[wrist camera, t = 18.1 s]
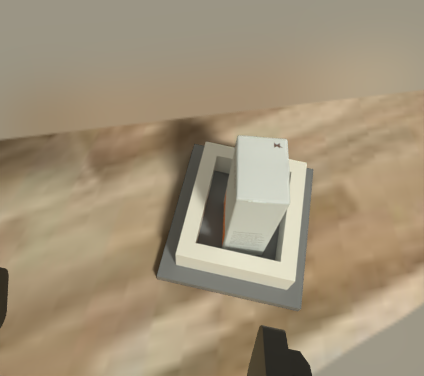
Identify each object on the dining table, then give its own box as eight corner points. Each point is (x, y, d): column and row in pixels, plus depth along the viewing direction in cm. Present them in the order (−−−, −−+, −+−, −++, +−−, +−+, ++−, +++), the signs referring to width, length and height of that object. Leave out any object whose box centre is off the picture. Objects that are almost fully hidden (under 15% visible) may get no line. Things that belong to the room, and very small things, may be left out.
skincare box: (222, 200, 41) (236, 132, 30) (261, 203, 41) (289, 137, 31) (219, 254, 38) (234, 199, 28) (262, 258, 38) (293, 204, 28)
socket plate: (157, 279, 37) (154, 266, 34) (194, 148, 45) (195, 127, 42) (298, 311, 37) (310, 301, 33) (310, 173, 45) (321, 154, 41)
